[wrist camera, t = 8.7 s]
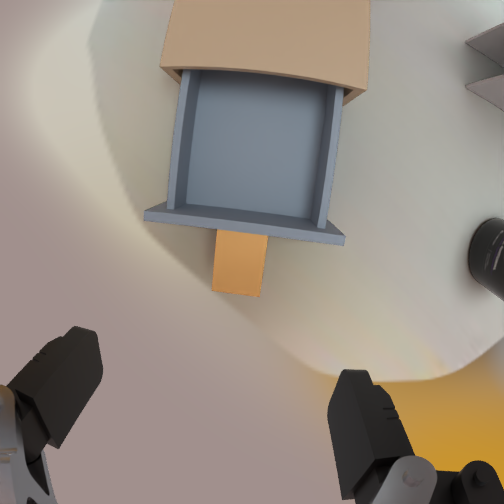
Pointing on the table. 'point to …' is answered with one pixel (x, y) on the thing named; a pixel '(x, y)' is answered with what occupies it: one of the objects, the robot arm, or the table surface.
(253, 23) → the sleeve
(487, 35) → the grey standing panel
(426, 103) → the table surface
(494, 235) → the supplement bottle
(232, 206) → the tray
